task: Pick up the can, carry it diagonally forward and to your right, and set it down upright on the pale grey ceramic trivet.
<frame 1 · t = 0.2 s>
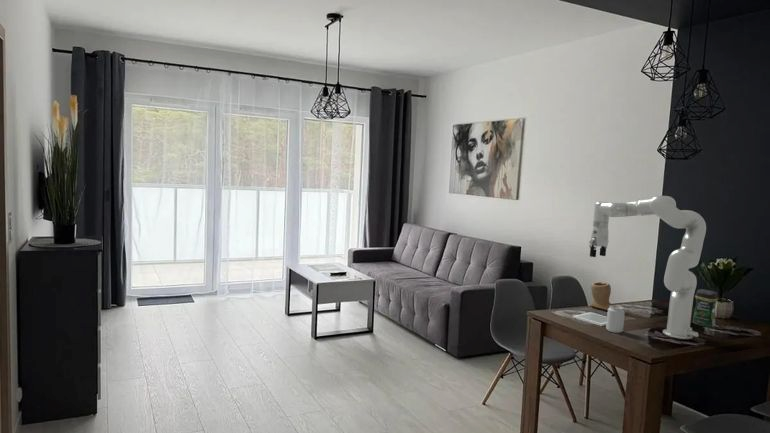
hand: (597, 256, 287), 31 cm above the table, tool pointing down, fingers open, 9 cm apart
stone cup: (602, 309, 299), on the table
coffee jar: (703, 325, 276), on the table
trivet: (595, 319, 275), on the table
can: (614, 331, 256), on the table
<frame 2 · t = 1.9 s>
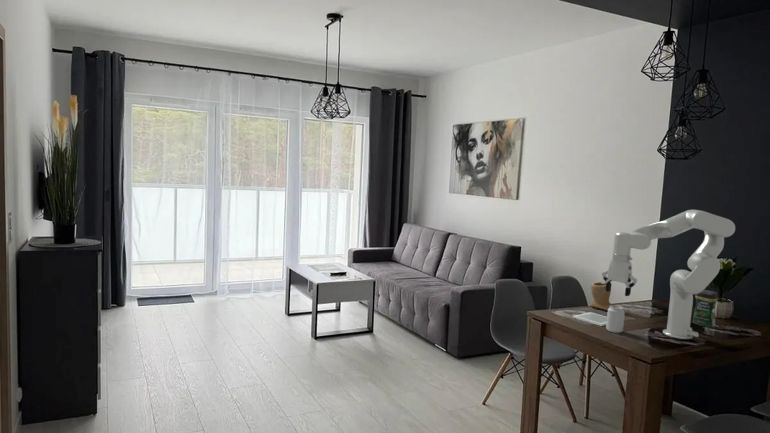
hand: (617, 293, 255), 18 cm above the table, tool pointing down, fingers open, 9 cm apart
nothing on the table moved.
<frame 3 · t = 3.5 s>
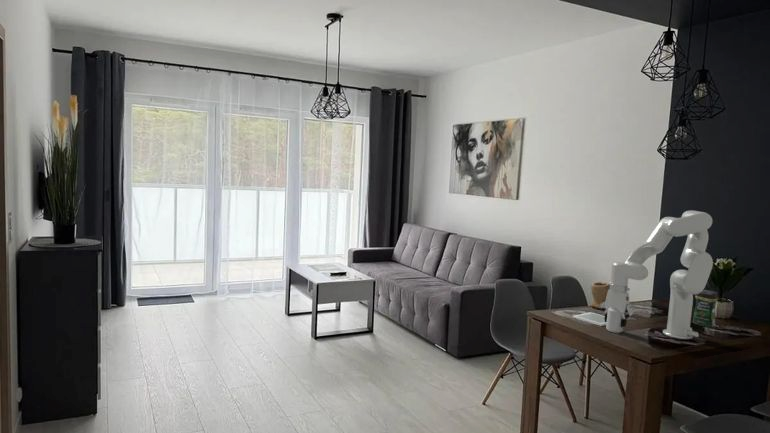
hand: (614, 324, 256), 3 cm above the table, tool pointing down, fingers closed on can, 7 cm apart
can: (614, 331, 256), on the table, touching gripper
everything else where it was.
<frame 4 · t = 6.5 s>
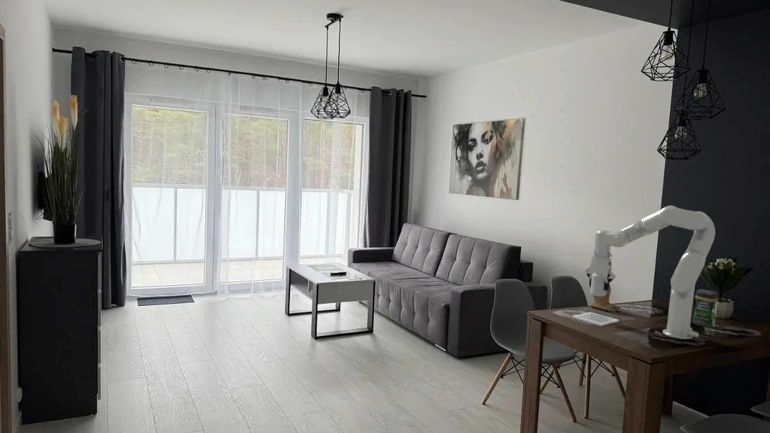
hand: (598, 288, 273), 17 cm above the table, tool pointing down, fingers closed on can, 7 cm apart
can: (598, 295, 274), point 13 cm above the table, touching gripper
everything else where it was.
when the fingers open (5 cm above the table, at t = 9.1 s): can stays where it is, resting on trivet.
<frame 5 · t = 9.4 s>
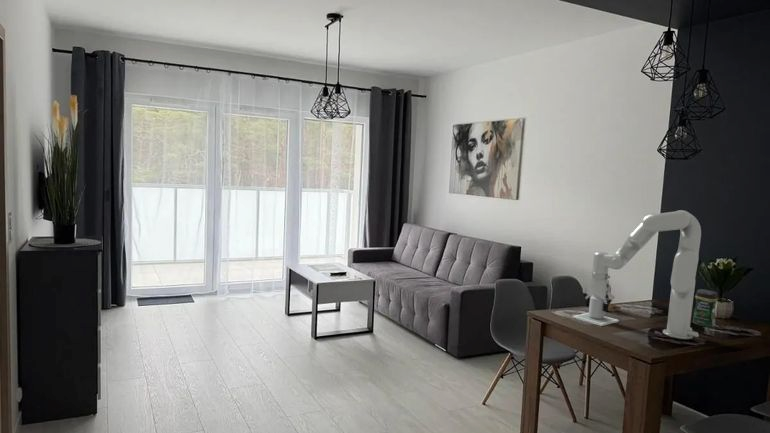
hand: (596, 308, 274), 6 cm above the table, tool pointing down, fingers open, 9 cm apart
can: (596, 318, 275), point 1 cm above the table, touching trivet
everything else where it was.
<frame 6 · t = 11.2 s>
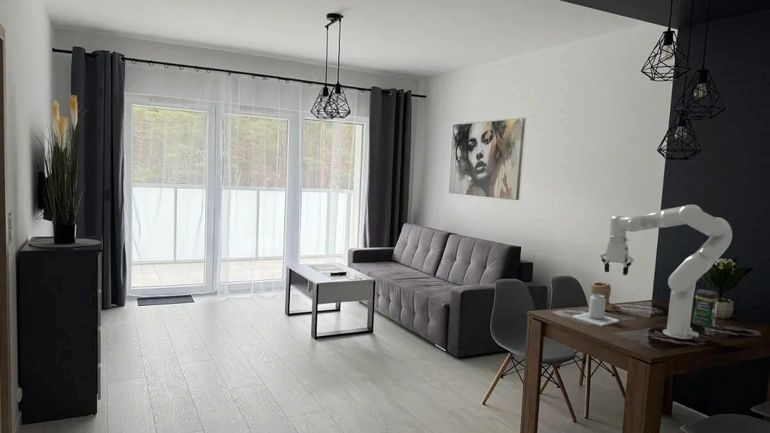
hand: (615, 273, 272), 25 cm above the table, tool pointing down, fingers open, 9 cm apart
nothing on the table moved.
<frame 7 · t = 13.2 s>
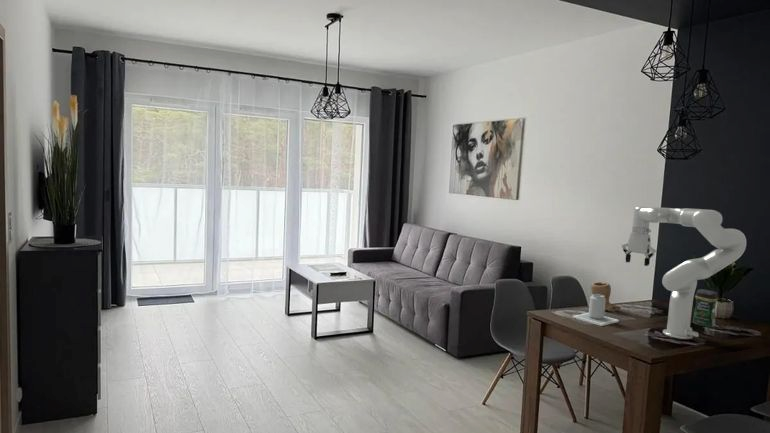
hand: (637, 263, 272), 30 cm above the table, tool pointing down, fingers open, 9 cm apart
nothing on the table moved.
at the end: can inside the target area on the trivet (0.2 cm from its centre), point 0.9 cm above the trivet's base; can tilted 0°; the gripper is holding nothing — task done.
